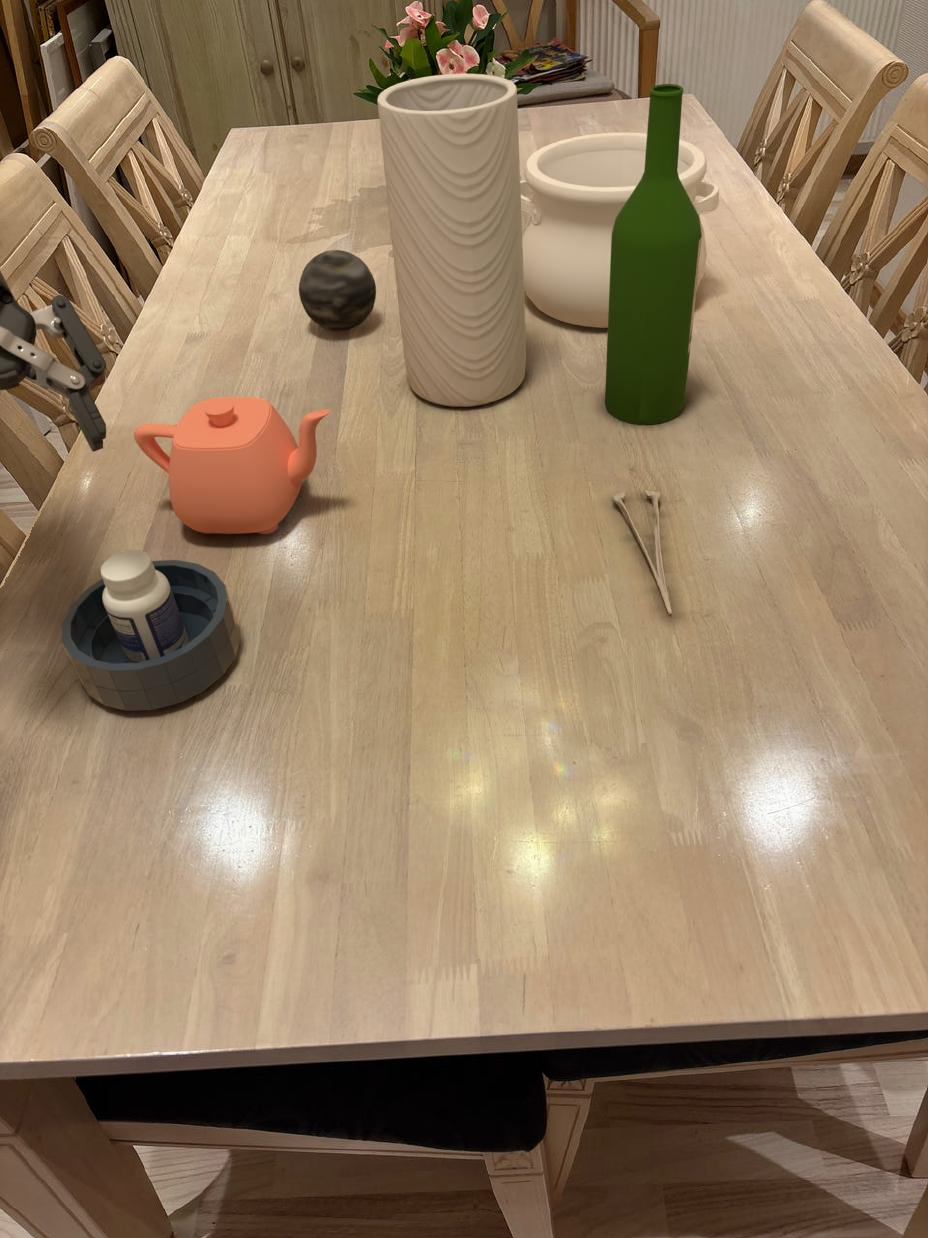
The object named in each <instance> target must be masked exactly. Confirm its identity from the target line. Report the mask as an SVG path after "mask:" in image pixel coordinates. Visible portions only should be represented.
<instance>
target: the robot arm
mask: <svg viewBox="0 0 928 1238" xmlns="http://www.w3.org/2000/svg"><path fill="white" fill-rule="evenodd" d="M38 330H43V331H46V332H48V333H49V335H50V336H51V337H52V338H54V339H63V340H64V342H65V344H66V345H67V347H68V349H69V350H70V352H71V354H72V356H73V357H74V359H75V361H76V363H77V364H78V366H79V367H80V368H78V369H77V370H75V369H73V368H70V367H69V366H67V365H65V364H63V363H61V362H60V361H58V360H57V359H56V358H55V357H54V356H53V355H52V354H50V353H49V352H46V351H45V350H43V349H41V348H39V347H37V346H35V342H36V338H37V331H38ZM95 343H96V342H94V340H93V338H92V337H91V334H90V333H89V331H88V330H87V327H86V326H85V324H84V322H83V321H82V319H81V317H80V315H79V314H78V313H77V311H76V310H75V308H74V305H73V304H72V303H71V301H70V299H69V298H68V297H67V296H66V295H62V294H59V295H55V296H54V297H53V298H52V299H51V304H49V305H46V306H44V307H41V308H38V309H35V310H33V311H31V312H29V311H28V310H27V309H25V308H23V306H21V305H20V304H19V303H18V301H17V300H16V298H15V296H14V294H13V292H12V290H11V289H10V286H9V285H8V282H7V281H6V278H5V277H4V275H3V273H2V271H1V270H0V391H9V390H12V389H15V388H18V387H20V385H21V384H20V383H21V382H23V381H24V380H25V379H26V380H28V381H29V382H31V383H33V384H35V385H37V386H39V387H41V388H43V389H46V390H47V389H49V390H51V391H53V392H55V393H56V394H59V395H60V396H62V397H64V398H66V399H68V407H69V409H70V411H71V413H72V415H73V417H74V419H75V421H76V422H77V425H78V427H79V428H80V431H81V432H82V434H83V437H84V439H85V440H86V442H87V444H88V446H89V448H90V450H91V451H92V452H93V453H95V452H97V451H100V450H102V449H104V440H105V439H107V424H106V422H105V419H104V418H103V416H102V414H101V412H100V410H99V408H98V405H97V404H96V402H95V400H94V399H93V396H92V394H91V392H92V391H93V389H95V388H96V387H97V386H102V385H103V384H104V383H105V382H106V370H107V362H106V360H105V358H104V357H103V355H102V353H101V352H100V349H99V348H98V346H97V344H95Z"/></svg>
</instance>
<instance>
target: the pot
mask: <svg viewBox="0 0 928 1238" xmlns="http://www.w3.org/2000/svg"><path fill="white" fill-rule="evenodd" d="M646 143H647V132H646V133H645V132H623V131H622V132H603V133H592V134H586V135H579V136H574V137H570V138H565V139H561V140H558V141H555V142H552V143H549V144H547V145H545V146H542V147H541V148H539V149H537V150H536V151H534V152H533V153H532V154H531V155H530V156H529V157H528V159H527V161H526V163H525V166H524V178H525V180H520V188H521V212H524V213H527V214H529V216H528V219H527V221H526V224H525V226H524V229H523V230H522V245H523V275H524V293H525V295H526V296H527V297H528V298H529V300H530V301H531V302H532V303H533V305H534V306H535V307H536V308H537V309H538V310H539V311H541V312H542V313H544V314H545V315H546V316H549V317H551V318H553V319H555V320H557V321H561V322H563V323H567V324H571V325H575V326H581V327H586V328H587V327H588V328H598V329H608V313H609V288H610V262H611V237H612V230H613V227H614V223H615V219H616V217H617V215H618V214H619V212H620V211H621V209H622V208H623V206H624V205H625V203H626V202H627V200H628V199H629V197H630V195H631V194H632V192H633V191H634V189H635V188H636V186H637V185H638V183H639V182H640V180H641V178H642V176H643V173H644V169H645V156H646ZM707 170H708V163H707V158H706V155H705V154H704V153H703V152H702V150H701V149H700V148H698V146H696V145H694V144H692V143H690V142H689V141H688V142H687V141H685V140H683V139H679V154H678V169H677V172H678V176H679V179H680V181H681V183H682V185H683V187H684V189H685V190H686V192H687V194H688V196H689V198H690V200H691V202H692V204H693V206H694V208H695V210H696V211H697V213H698V215H699V218H700V226H701V232H702V240H701V250H700V260H699V270H698V279H697V289H696V291H697V290H698V288H699V285H700V284H701V282H702V278H703V276H704V273H705V268H706V263H707V262H706V261H707V255H708V254H707V243H706V234H705V230H704V226H703V223H702V221H701V217H700V215H701V216H702V215H705V214H709V213H711V212H714V211H716V210H717V209H718V207H719V202H720V188H719V185H718V184H717V183H714V182H709V181H708V182H707V181H703V179H704V178H705V176H706V173H707ZM530 195H532V199H530V198H528V197H527V196H530ZM697 197H702V199H698V200H697Z"/></svg>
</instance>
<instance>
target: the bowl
mask: <svg viewBox="0 0 928 1238" xmlns="http://www.w3.org/2000/svg"><path fill="white" fill-rule="evenodd" d="M152 563H153V565H154V568H155V570H157V571H159V572H161V573H162V574H163V575H164V576H165V577H166V578H167V580H168V582H169V584H170V587H171V590H172V593H173V596H174V599H175V602H176V604H177V607H178V610H179V613H180V615H181V618H182V621H183V624H184V627H185V629H186V632H187V635H188V638H189V643H188V644H186V645H185V646H184V647H182V648H180V649H177V650H175V651H173V652H171V653H169V654H167V655H165V656H163V657H159V658H155V659H151V660H147V661H143V662H139V663H129V661H128V659H127V657H126V655H125V653H124V651H123V648H122V646H121V644H120V641H119V639H118V637H117V634H116V632H115V630H114V627H113V625H112V623H111V621H110V618H109V616H108V613H107V611H106V609H105V606H104V603H103V598H102V597H103V591H104V589H105V587H106V586H105V584H104V581H103V578H101V579H99V580H97V581H96V582H94V583H93V584H91V585H90V586H89V587H87V588H85V590H83V591H82V592H81V593H80V594H79V595H78V596H77V598H76V599H75V600H74V601H73V602H72V603H71V604H70V605H69V607H68V609H67V611H66V614H65V615H64V617H63V619H62V621H61V624H60V641H61V643H62V646H63V648H64V650H65V652H66V655H67V656H68V658H69V661H70V662H71V665H72V666H73V669H74V671H75V673H76V675H77V677H78V679H79V681H80V683H81V685H82V686H83V689H84V690H85V691H86V694H87V695H88V696H90V697H91V698H93V699H95V700H96V701H97V702H99V703H101V704H102V705H103V706H105V707H109V708H113V709H117V710H122V711H128V712H130V711H133V712H134V711H154V710H158V709H162V708H166V707H169V706H173V705H178V704H181V703H183V702H185V701H187V700H188V699H191V698H193V697H195V696H197V695H200V694H201V693H203V692H204V691H206V690H207V689H209V688H210V686H212V685H213V684H214V683H216V682H217V681H218V680H219V679H220V678H222V677H223V676H224V674H225V673H226V672H227V670H228V669H229V668H230V667H231V665H232V663H233V662H234V661H235V660H236V657H237V654H238V650H239V646H240V642H241V636H240V632H239V627H238V623H237V619H236V616H235V612H234V610H233V607H232V603H231V600H230V596H229V593H228V589H227V587H226V584H225V583H224V582H223V580H222V579H221V578H220V577H219V575H217V573H216V572H215V571H213V570H211V569H209V568H208V567H205V566H203V565H201V564H200V563H196V562H190V561H185V560H180V559H166V560H165V559H164V560H163V559H161V560H152Z"/></svg>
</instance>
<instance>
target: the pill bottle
mask: <svg viewBox="0 0 928 1238" xmlns="http://www.w3.org/2000/svg"><path fill="white" fill-rule="evenodd" d="M152 561H153V560H152V558H151V556H150V555H149V553H148V552H146V551H144V550H141V549H125V550H122V551H119V552H117V553H115V554H112V555H111V556H109V557H108V558H107V559H105V561H103V563H102V564H101V567H100V575H101V577H102V578H103V581H104V584H105V586H106V587H105V589H104V591H103V597H102V598H103V603H104V606H105V609H106V611H107V613H108V616H109V618H110V621H111V623H112V625H113V627H114V630H115V632H116V634H117V637H118V639H119V641H120V644H121V646H122V648H123V651H124V653H125V655H126V657H127V659H128V661H129V663H139V662H143V661H147V660H151V659H155V658H159V657H163V656H165V655H167V654H169V653H171V652H173V651H175V650H177V649H180V648H182V647H184V646H185V645H186V644H188V643H189V638H188V635H187V632H186V629H185V627H184V624H183V621H182V618H181V615H180V613H179V610H178V607H177V604H176V602H175V599H174V596H173V593H172V590H171V587H170V584H169V582H168V580H167V578H166V577H165V576H164V575H163V574H162V573H161V572H159V571H157V570H155V568H154V565H153V563H152ZM102 578H101V579H102Z"/></svg>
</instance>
